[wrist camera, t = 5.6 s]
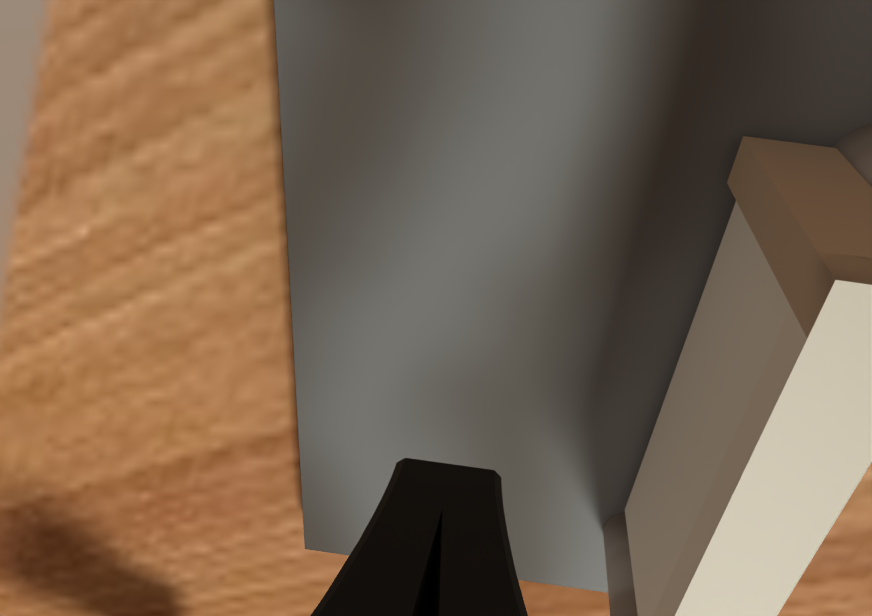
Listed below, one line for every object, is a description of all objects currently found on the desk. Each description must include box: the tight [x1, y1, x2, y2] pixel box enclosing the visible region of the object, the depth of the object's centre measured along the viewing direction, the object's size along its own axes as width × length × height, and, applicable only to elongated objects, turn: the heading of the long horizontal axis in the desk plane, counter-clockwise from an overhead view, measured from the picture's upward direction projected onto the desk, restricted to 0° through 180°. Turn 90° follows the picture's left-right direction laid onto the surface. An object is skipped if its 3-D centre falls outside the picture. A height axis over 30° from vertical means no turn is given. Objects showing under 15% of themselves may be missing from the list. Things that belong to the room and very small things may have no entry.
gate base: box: [274, 0, 872, 616], centre depth 16 cm, size 14×18×7 cm
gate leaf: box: [625, 136, 872, 616], centre depth 15 cm, size 11×2×5 cm, turn 175°
